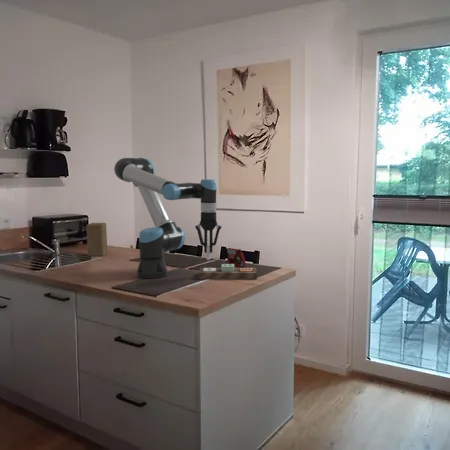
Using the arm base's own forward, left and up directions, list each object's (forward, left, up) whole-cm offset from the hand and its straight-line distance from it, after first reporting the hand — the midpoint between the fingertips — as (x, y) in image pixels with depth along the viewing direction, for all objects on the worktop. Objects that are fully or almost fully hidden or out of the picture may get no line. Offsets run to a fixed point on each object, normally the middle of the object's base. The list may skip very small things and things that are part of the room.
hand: (208, 259), depth 220 cm
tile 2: (+10, 0, -6) cm, 11 cm away
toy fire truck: (+13, +20, -9) cm, 25 cm away
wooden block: (-76, +58, -9) cm, 96 cm away
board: (+10, 0, -8) cm, 13 cm away
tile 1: (+1, 0, -8) cm, 8 cm away
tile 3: (+19, 0, -8) cm, 20 cm away
